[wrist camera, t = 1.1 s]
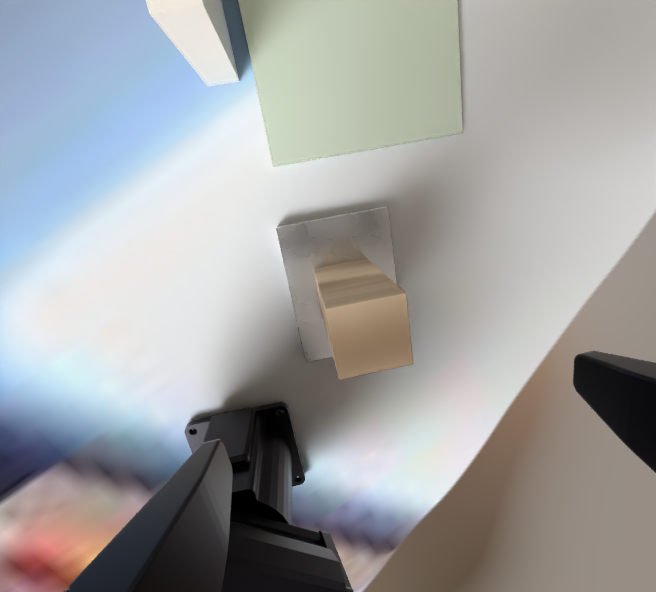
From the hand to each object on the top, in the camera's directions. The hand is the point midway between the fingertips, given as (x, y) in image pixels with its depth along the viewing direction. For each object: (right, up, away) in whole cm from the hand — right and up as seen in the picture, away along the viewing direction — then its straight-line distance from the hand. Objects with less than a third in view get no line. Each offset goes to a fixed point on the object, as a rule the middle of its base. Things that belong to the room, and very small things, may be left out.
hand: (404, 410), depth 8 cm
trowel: (-1, +4, +12) cm, 12 cm away
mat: (-1, +17, +7) cm, 18 cm away
